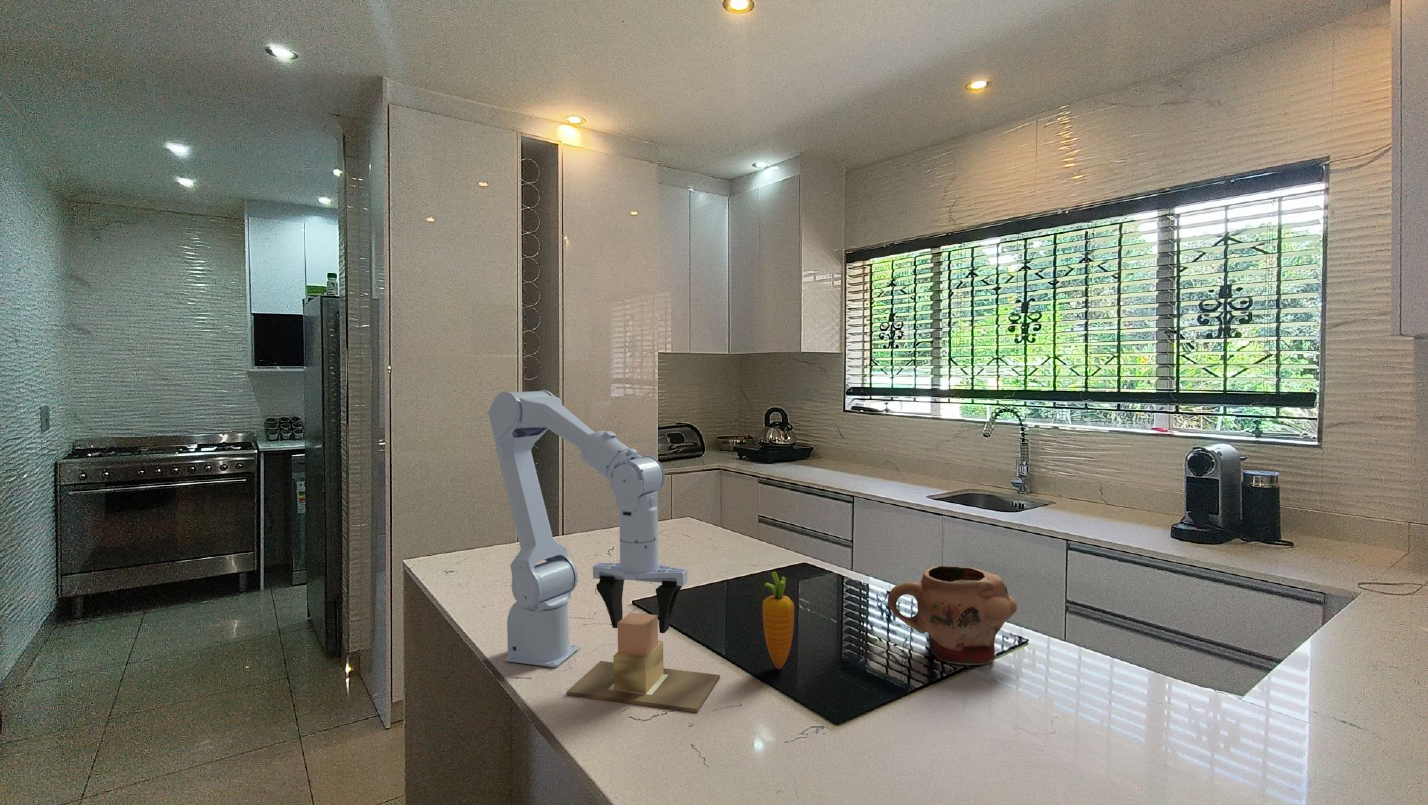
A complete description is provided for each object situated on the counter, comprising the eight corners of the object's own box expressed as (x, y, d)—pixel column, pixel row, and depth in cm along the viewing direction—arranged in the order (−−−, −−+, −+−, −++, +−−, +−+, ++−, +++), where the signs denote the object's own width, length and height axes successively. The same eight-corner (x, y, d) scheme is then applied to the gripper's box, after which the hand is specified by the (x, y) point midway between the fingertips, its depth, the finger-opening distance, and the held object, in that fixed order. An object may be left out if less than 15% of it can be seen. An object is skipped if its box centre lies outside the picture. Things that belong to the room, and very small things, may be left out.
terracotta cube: (618, 653, 100) (617, 622, 100) (630, 641, 105) (630, 612, 104) (646, 656, 99) (645, 625, 99) (658, 644, 103) (657, 615, 103)
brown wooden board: (566, 694, 99) (566, 691, 99) (600, 663, 110) (600, 660, 110) (697, 712, 94) (697, 708, 94) (720, 678, 104) (719, 674, 104)
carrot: (793, 677, 104) (792, 579, 104) (761, 674, 105) (759, 578, 105) (796, 663, 109) (795, 570, 108) (765, 661, 110) (764, 569, 109)
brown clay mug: (898, 672, 105) (898, 583, 105) (881, 641, 117) (880, 561, 117) (1030, 672, 105) (1030, 582, 104) (998, 641, 117) (998, 560, 116)
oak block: (614, 689, 100) (613, 655, 99) (633, 669, 106) (632, 637, 106) (645, 693, 98) (645, 659, 98) (663, 673, 105) (663, 641, 105)
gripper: (582, 542, 100) (584, 633, 101) (675, 548, 96) (676, 643, 97) (603, 531, 107) (605, 616, 108) (691, 536, 103) (692, 625, 104)
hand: (640, 628), depth 103 cm, fingers open, 7 cm apart
